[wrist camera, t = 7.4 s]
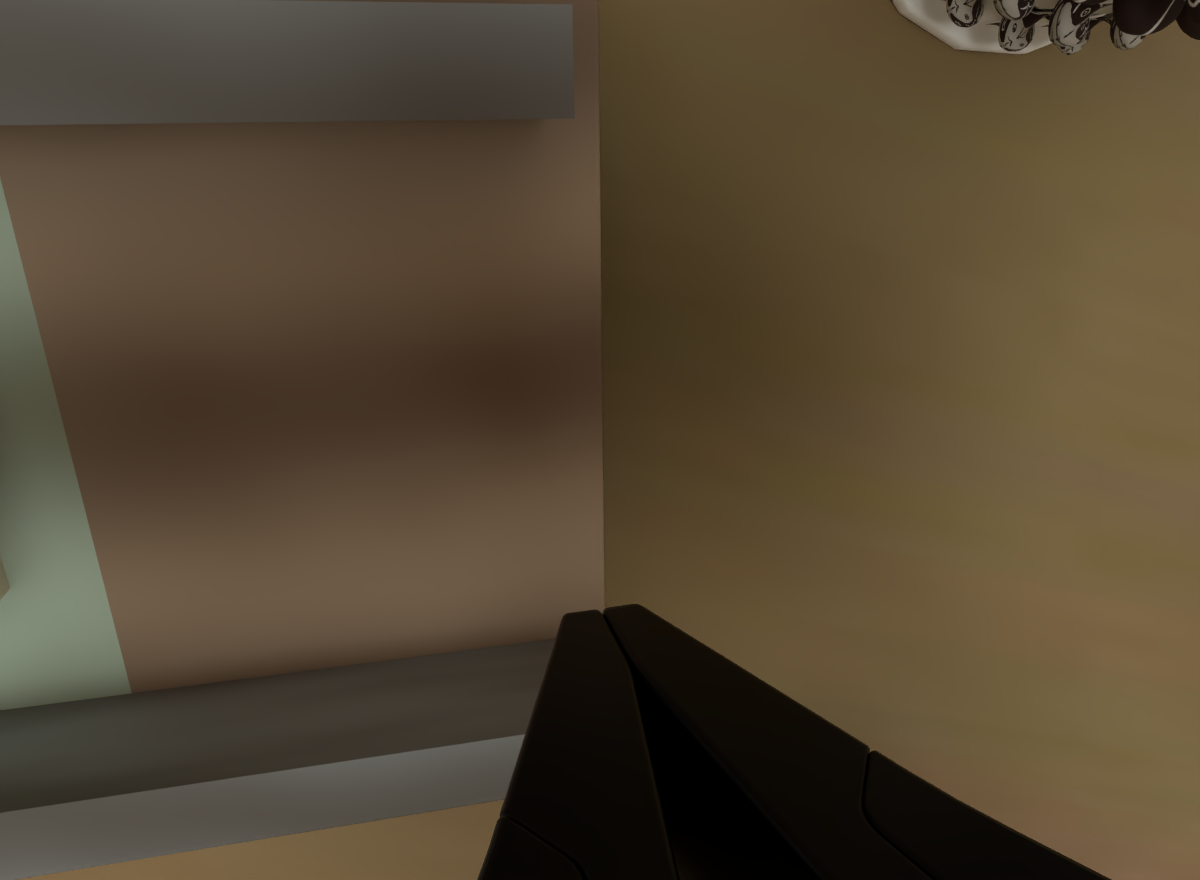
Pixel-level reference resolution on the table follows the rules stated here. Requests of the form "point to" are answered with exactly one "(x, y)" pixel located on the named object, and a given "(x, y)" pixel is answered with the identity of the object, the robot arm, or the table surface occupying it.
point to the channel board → (288, 409)
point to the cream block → (3, 580)
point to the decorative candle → (1045, 22)
